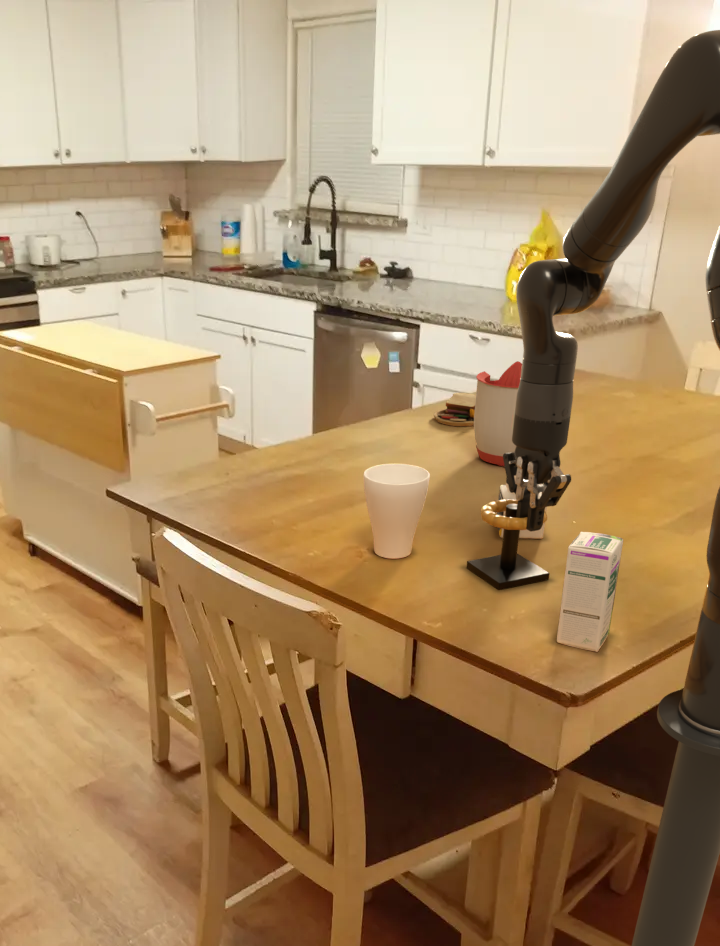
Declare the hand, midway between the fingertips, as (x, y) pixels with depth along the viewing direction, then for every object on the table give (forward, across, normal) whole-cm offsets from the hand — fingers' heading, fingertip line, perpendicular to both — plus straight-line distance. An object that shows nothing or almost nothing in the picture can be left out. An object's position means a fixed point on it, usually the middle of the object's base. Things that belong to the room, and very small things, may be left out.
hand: (528, 526), depth 141 cm
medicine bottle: (+10, -18, +12) cm, 24 cm away
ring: (-1, -4, 0) cm, 4 cm away
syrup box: (+10, +18, -3) cm, 21 cm away
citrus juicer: (+10, -53, +33) cm, 63 cm away
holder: (+9, -4, 0) cm, 10 cm away
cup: (+10, -19, -12) cm, 24 cm away
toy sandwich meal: (+10, -82, +40) cm, 92 cm away
